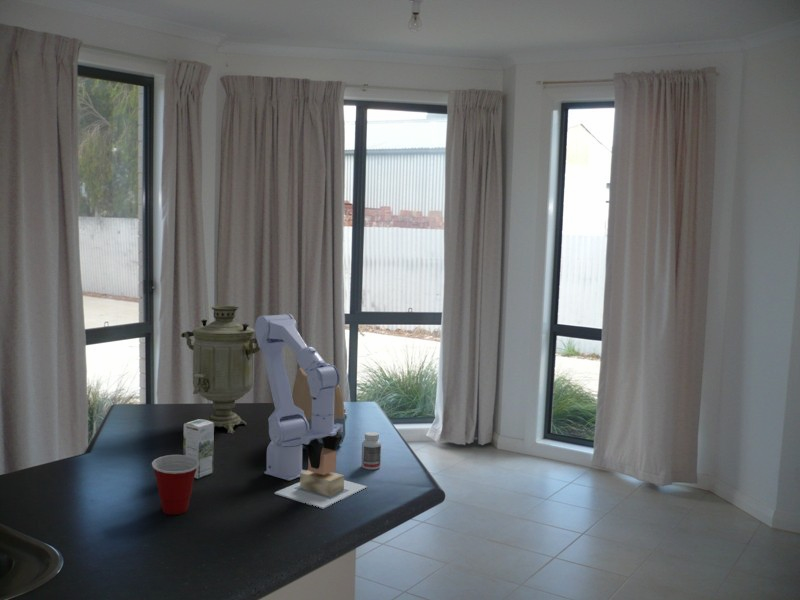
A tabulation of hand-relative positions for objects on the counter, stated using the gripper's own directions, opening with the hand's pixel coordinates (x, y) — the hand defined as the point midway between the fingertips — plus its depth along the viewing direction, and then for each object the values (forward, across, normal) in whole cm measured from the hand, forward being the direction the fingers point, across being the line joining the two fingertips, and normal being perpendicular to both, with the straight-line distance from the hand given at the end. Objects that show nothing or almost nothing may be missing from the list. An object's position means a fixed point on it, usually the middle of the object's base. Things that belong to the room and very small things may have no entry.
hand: (322, 464), depth 193 cm
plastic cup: (+7, -31, +19) cm, 37 cm away
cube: (+1, 0, 0) cm, 1 cm away
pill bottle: (+7, +23, +1) cm, 24 cm away
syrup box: (+7, -11, +34) cm, 36 cm away
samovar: (+7, +22, +63) cm, 67 cm away
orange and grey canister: (+7, +31, +28) cm, 42 cm away
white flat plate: (+7, 0, 0) cm, 7 cm away
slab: (+6, 0, 0) cm, 6 cm away
